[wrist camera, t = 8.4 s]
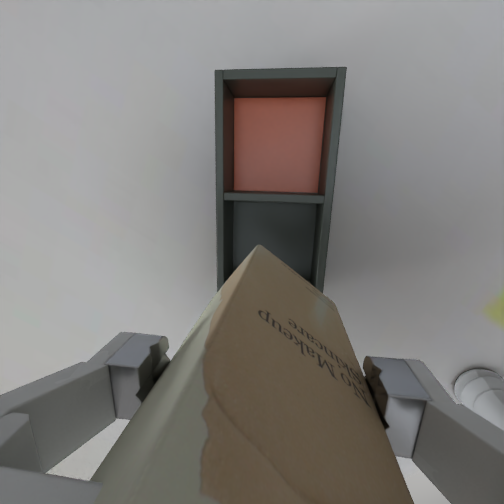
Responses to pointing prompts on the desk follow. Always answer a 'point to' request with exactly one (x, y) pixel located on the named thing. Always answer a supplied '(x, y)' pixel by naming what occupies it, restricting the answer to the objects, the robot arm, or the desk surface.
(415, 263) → the desk surface
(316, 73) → the divided tray
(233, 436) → the box
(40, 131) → the desk surface
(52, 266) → the desk surface
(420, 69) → the desk surface
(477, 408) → the rook chess piece
